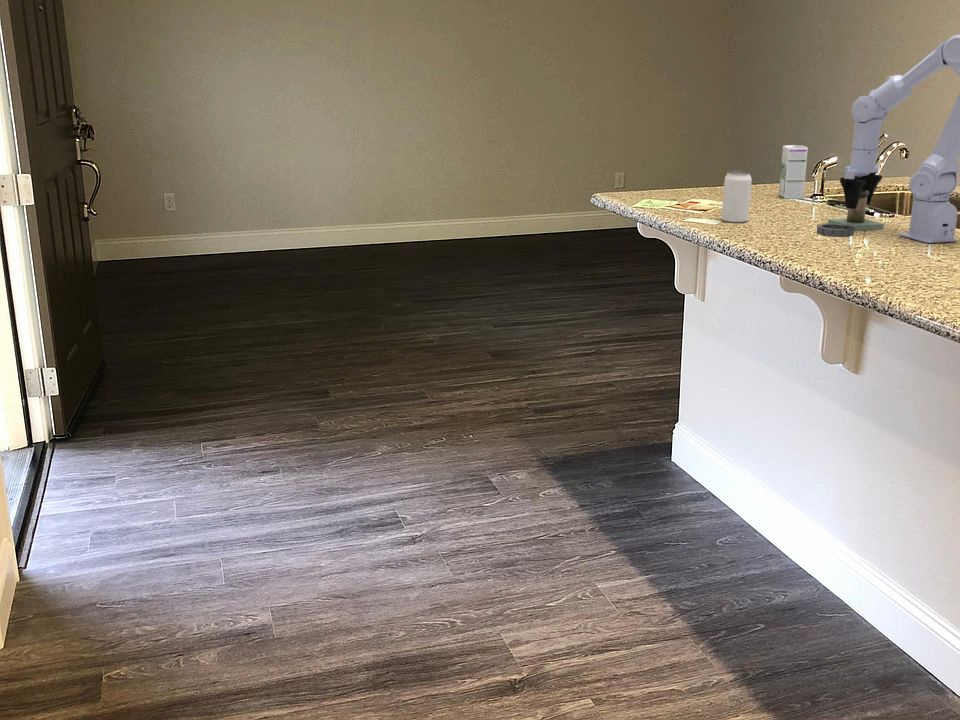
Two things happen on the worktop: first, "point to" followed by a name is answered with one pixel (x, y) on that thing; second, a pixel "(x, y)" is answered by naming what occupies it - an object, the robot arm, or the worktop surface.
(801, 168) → the syrup box
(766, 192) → the worktop surface
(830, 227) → the collar
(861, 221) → the hook peg
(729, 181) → the can
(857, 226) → the pad
